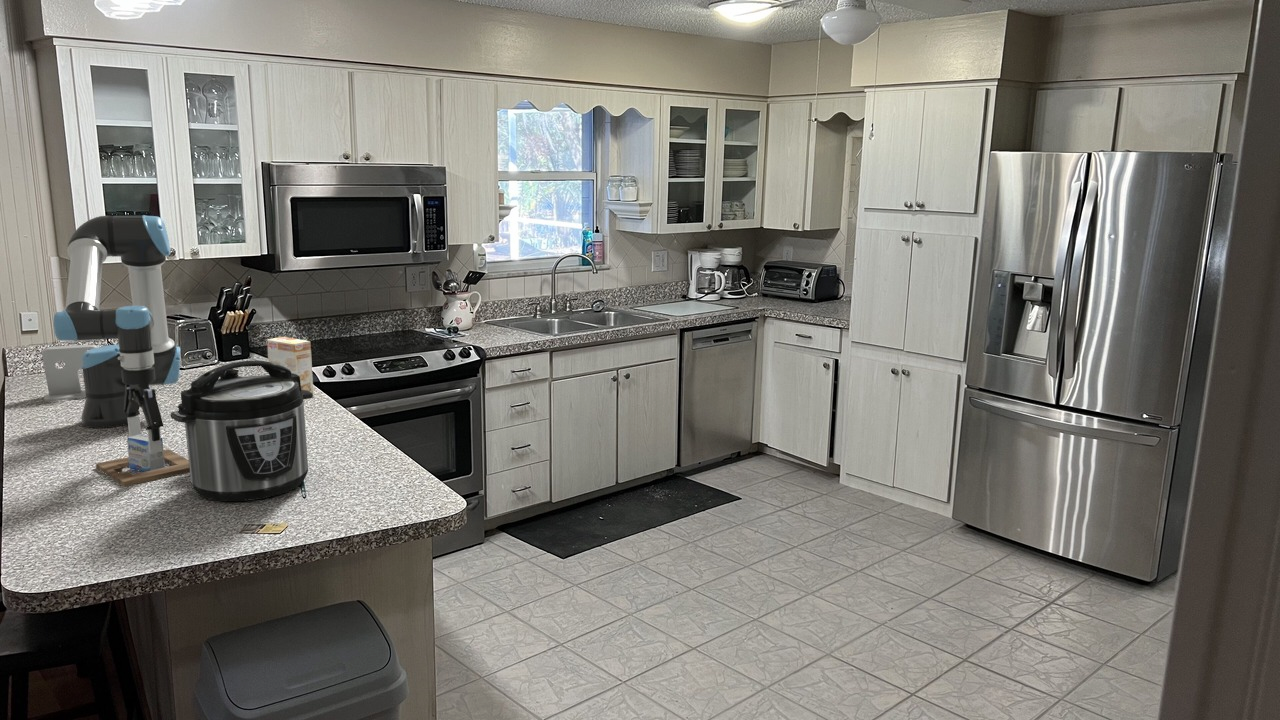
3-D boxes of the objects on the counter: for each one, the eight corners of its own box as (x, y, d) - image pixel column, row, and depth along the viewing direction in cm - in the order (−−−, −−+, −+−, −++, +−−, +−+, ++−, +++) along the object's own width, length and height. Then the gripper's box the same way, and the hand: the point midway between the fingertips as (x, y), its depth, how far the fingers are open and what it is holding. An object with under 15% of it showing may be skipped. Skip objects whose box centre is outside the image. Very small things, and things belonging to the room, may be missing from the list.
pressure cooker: (169, 511, 209) (157, 377, 202) (199, 472, 236) (188, 352, 229) (307, 503, 215) (299, 372, 209) (320, 465, 242) (313, 349, 236)
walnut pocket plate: (96, 468, 237) (95, 463, 237) (168, 453, 250) (168, 449, 250) (124, 486, 224) (123, 481, 224) (199, 469, 237) (198, 465, 237)
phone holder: (105, 390, 318) (100, 339, 315) (103, 396, 309) (97, 344, 306) (46, 394, 311) (40, 343, 307) (43, 401, 302) (36, 348, 298)
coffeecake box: (314, 396, 315) (311, 340, 311) (297, 400, 309) (293, 344, 305) (287, 389, 323) (283, 336, 319) (269, 393, 317) (265, 339, 313)
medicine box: (129, 469, 236) (125, 437, 235) (144, 464, 241) (141, 433, 239) (150, 473, 234) (147, 441, 232) (165, 468, 238) (162, 437, 236)
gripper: (104, 361, 237) (112, 438, 241) (140, 378, 221) (148, 460, 225) (135, 356, 242) (142, 432, 247) (172, 373, 226) (180, 454, 231)
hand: (145, 446), depth 236 cm, fingers open, 13 cm apart
